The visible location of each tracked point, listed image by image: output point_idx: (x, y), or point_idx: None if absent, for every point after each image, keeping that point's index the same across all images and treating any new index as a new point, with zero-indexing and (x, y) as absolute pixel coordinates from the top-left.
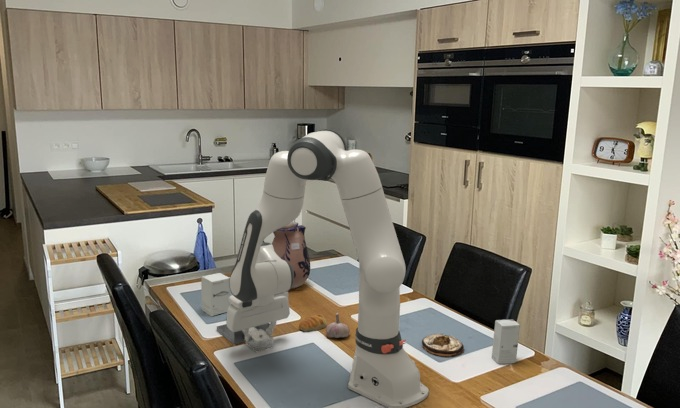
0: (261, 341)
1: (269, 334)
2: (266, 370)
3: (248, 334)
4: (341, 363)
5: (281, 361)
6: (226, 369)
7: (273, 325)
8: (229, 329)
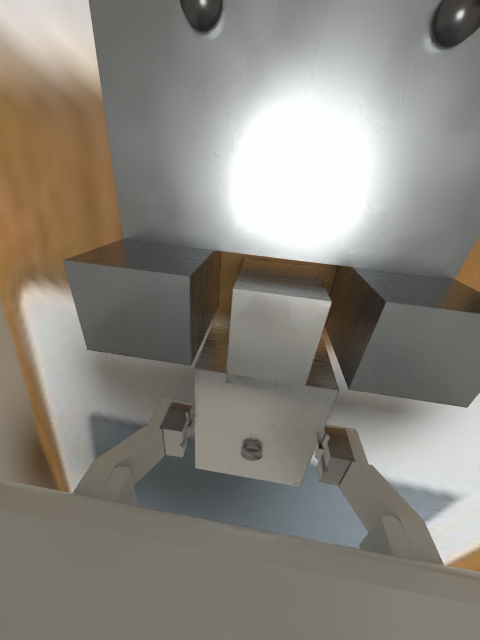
0: (223, 468)
1: (318, 454)
2: (169, 493)
3: (149, 469)
4: None
5: (241, 494)
6: (53, 426)
7: (366, 529)
8: (179, 73)
